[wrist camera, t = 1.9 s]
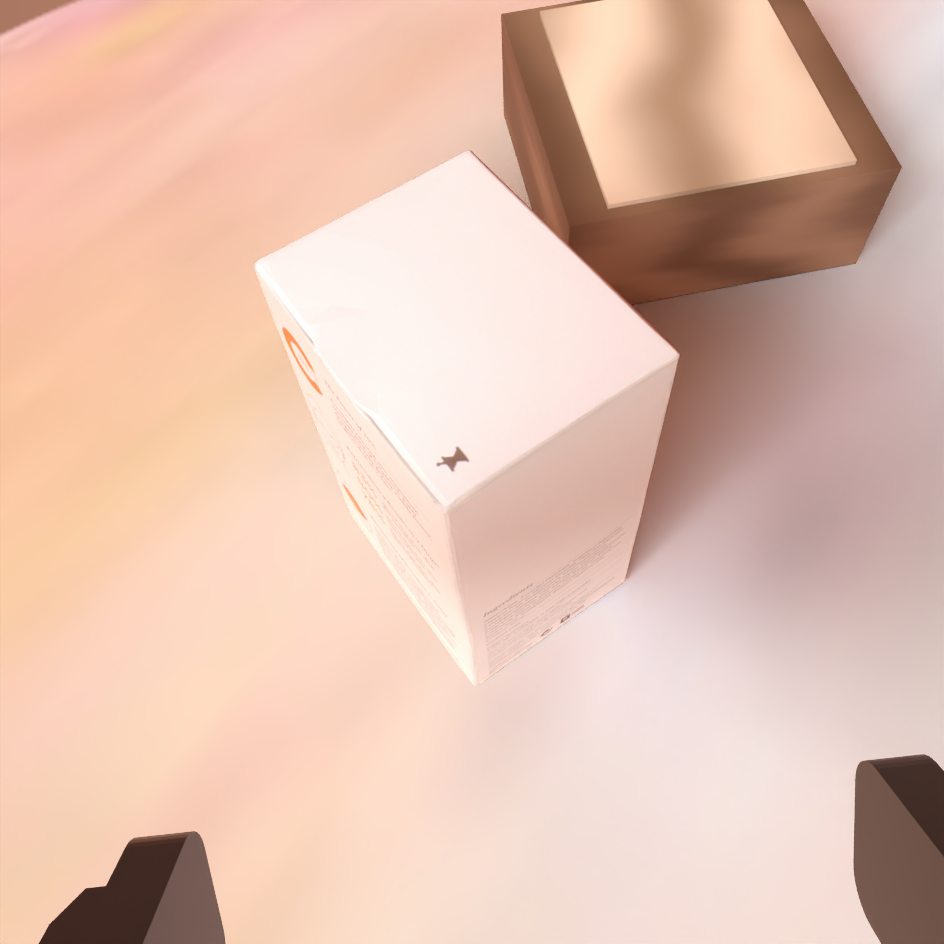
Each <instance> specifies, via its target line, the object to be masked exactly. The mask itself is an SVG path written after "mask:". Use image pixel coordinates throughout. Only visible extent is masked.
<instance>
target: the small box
mask: <svg viewBox="0 0 944 944" xmlns="http://www.w3.org/2000/svg"><path fill="white" fill-rule="evenodd" d="M254 269H255V272H256V274H257V277H258V280H259V282H260V285H261V288H262V290H263V293H264V295H265V298H266V301H267V303H268V306H269V309H270V311H271V314H272V316H273V319H274V322H275V324H276V327H277V329H278V331H279V334H280V336H281V339H282V341H283V344H284V346H285V349H286V351H287V354H288V356H289V359H290V361H291V364H292V367H293V369H294V372H295V374H296V377H297V379H298V382H299V384H300V387H301V390H302V392H303V395H304V397H305V400H306V402H307V405H308V407H309V410H310V413H311V415H312V418H313V421H314V423H315V425H316V428H317V430H318V432H319V435H320V437H321V440H322V442H323V445H324V447H325V450H326V452H327V455H328V457H329V460H330V462H331V465H332V467H333V470H334V473H335V475H336V478H337V480H338V483H339V486H340V488H341V491H342V493H343V496H344V499H345V501H346V504H347V507H348V509H349V512H350V513H351V515H352V516H353V518H354V519H355V521H356V522H357V524H358V525H359V526H360V528H361V529H362V531H363V532H364V534H365V535H366V537H367V538H368V539H369V541H370V542H371V544H372V545H373V547H374V548H375V549H376V551H377V552H378V554H379V555H380V557H381V558H382V559H383V561H384V562H385V564H386V565H387V566H388V568H389V569H390V571H391V572H392V573H393V575H394V576H395V578H396V579H397V581H398V582H399V583H400V585H401V586H402V587H403V589H404V590H405V592H406V593H407V594H408V596H409V597H410V599H411V600H412V601H413V603H414V604H415V606H416V607H417V608H418V610H419V611H420V613H421V614H422V615H423V617H424V618H425V620H426V621H427V622H428V624H429V625H430V627H431V628H432V629H433V631H434V632H435V634H436V635H437V636H438V638H439V639H440V641H441V642H442V643H443V645H444V646H445V647H446V649H447V650H448V652H449V653H450V654H451V656H452V657H453V658H454V660H455V661H456V663H457V664H458V665H459V666H460V668H461V669H462V670H463V672H464V673H465V674H466V676H467V677H468V678H469V680H470V681H471V682H472V683H473V684H474V685H475V686H477V685H479V684H481V683H482V682H484V681H485V680H487V679H488V678H489V677H491V676H492V675H493V674H495V673H497V672H498V671H499V670H501V669H502V668H503V667H505V666H506V665H507V664H509V663H510V662H512V661H513V660H514V659H516V658H517V657H519V656H520V655H522V654H523V653H524V652H526V651H527V650H528V649H530V648H531V647H533V646H534V645H535V644H537V643H538V642H540V641H541V640H542V639H544V638H545V637H546V636H548V635H549V634H551V633H552V632H553V631H555V630H556V629H558V628H559V627H560V626H562V625H563V624H565V623H566V622H567V621H569V620H570V619H572V618H573V617H574V616H576V615H577V614H579V613H580V612H582V611H583V610H584V609H586V608H587V607H589V606H590V605H592V604H593V603H595V602H596V601H597V600H599V599H600V598H602V597H603V596H605V595H606V594H607V593H609V592H610V591H612V590H613V589H615V588H616V587H617V586H619V585H620V584H622V583H623V582H624V581H625V578H626V574H627V570H628V565H629V562H630V558H631V554H632V549H633V545H634V541H635V538H636V535H637V531H638V527H639V523H640V519H641V515H642V511H643V506H644V502H645V497H646V492H647V488H648V485H649V480H650V476H651V473H652V468H653V464H654V460H655V455H656V451H657V447H658V443H659V439H660V435H661V431H662V427H663V423H664V419H665V415H666V410H667V406H668V402H669V398H670V394H671V390H672V385H673V381H674V377H675V373H676V369H677V364H678V360H679V357H680V353H679V351H678V350H677V349H676V348H675V347H674V346H673V345H672V344H671V343H670V342H669V341H668V340H667V339H666V338H665V337H664V336H662V335H661V334H660V333H659V332H658V331H657V330H656V329H655V328H654V327H653V326H652V325H651V324H650V323H649V322H648V321H647V320H646V319H645V318H644V317H643V316H642V315H641V314H640V313H638V312H637V311H636V310H635V309H634V308H633V307H632V306H631V305H630V304H629V303H628V302H627V301H626V300H625V299H624V298H623V297H622V296H621V295H620V294H619V293H618V292H617V291H616V290H615V289H614V288H613V287H612V286H611V285H610V284H609V283H608V282H606V281H605V280H604V279H603V278H602V277H601V276H600V275H599V274H598V273H597V272H596V271H595V270H594V269H593V268H592V267H591V266H590V265H589V264H588V263H586V262H585V261H584V260H583V259H582V258H581V257H580V256H579V255H578V254H577V253H576V252H575V251H574V250H573V249H572V248H571V247H570V246H569V245H568V244H567V243H566V242H565V241H564V240H563V239H562V238H561V237H560V236H559V235H558V234H556V233H555V232H554V231H553V230H552V229H551V228H550V227H549V226H548V225H547V224H546V223H545V222H544V221H543V220H542V219H541V218H540V217H539V216H538V215H537V214H536V213H535V212H534V211H533V210H531V209H530V208H529V207H528V206H527V205H526V204H525V203H524V202H523V201H522V200H521V199H520V198H519V197H518V196H517V195H516V194H515V193H514V192H513V191H512V190H511V189H510V188H509V187H508V186H507V185H505V184H504V183H503V182H502V181H501V180H500V179H499V178H498V177H497V176H496V175H495V174H494V173H493V172H492V171H491V170H490V169H489V168H488V167H487V166H486V165H485V164H484V163H483V162H482V161H481V160H480V159H479V158H478V157H477V156H476V155H475V154H474V153H473V152H472V151H464V152H462V153H460V154H458V155H457V156H455V157H453V158H451V159H449V160H447V161H445V162H443V163H441V164H440V165H438V166H436V167H434V168H432V169H430V170H428V171H426V172H425V173H423V174H421V175H419V176H417V177H415V178H414V179H412V180H410V181H408V182H406V183H404V184H402V185H400V186H398V187H396V188H395V189H393V190H391V191H389V192H387V193H385V194H383V195H381V196H379V197H377V198H375V199H374V200H372V201H370V202H368V203H366V204H364V205H362V206H360V207H359V208H357V209H355V210H353V211H351V212H349V213H347V214H345V215H344V216H342V217H340V218H338V219H336V220H334V221H332V222H330V223H328V224H327V225H325V226H323V227H321V228H319V229H317V230H315V231H313V232H311V233H309V234H307V235H306V236H304V237H302V238H300V239H298V240H296V241H294V242H292V243H290V244H288V245H287V246H285V247H283V248H281V249H279V250H277V251H275V252H273V253H271V254H269V255H267V256H265V257H263V258H261V259H258V260H257V261H256V262H255V268H254Z"/></svg>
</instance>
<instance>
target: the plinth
mask: <svg viewBox="0 0 944 944" xmlns="http://www.w3.org/2000/svg"><path fill="white" fill-rule="evenodd" d="M501 22H502V59H503V95H504V116H505V119H506V123H507V126H508V130H509V133H510V136H511V140H512V143H513V146H514V150H515V153H516V156H517V160H518V163H519V167H520V170H521V173H522V177H523V180H524V183H525V187H526V190H527V193H528V197H529V200H530V204H531V207H532V210H533V211H534V212H535V213H536V214H537V215H538V216H539V217H540V218H541V219H542V220H543V221H544V222H545V223H546V224H547V225H548V226H549V227H550V228H551V229H552V230H553V231H554V232H555V233H556V234H558V235H559V236H560V237H561V238H562V239H563V240H564V241H565V242H566V243H567V244H568V245H569V246H570V247H571V248H572V249H573V250H574V251H575V252H576V253H577V254H578V255H579V256H580V257H581V258H582V259H583V260H584V261H585V262H586V263H588V264H589V265H590V266H591V267H592V268H593V269H594V270H595V271H596V272H597V273H598V274H599V275H600V276H601V277H602V278H603V279H604V280H605V281H606V282H608V283H609V284H610V285H611V286H612V287H613V288H614V289H615V290H616V291H617V292H618V293H619V294H620V295H621V296H622V297H623V298H624V299H625V300H626V301H627V302H628V303H629V304H630V305H632V304H637V303H643V302H648V301H653V300H659V299H664V298H670V297H675V296H681V295H686V294H692V293H697V292H702V291H708V290H713V289H719V288H724V287H730V286H735V285H741V284H746V283H752V282H757V281H762V280H768V279H773V278H779V277H784V276H790V275H795V274H801V273H806V272H812V271H817V270H822V269H828V268H833V267H839V266H844V265H850V264H855V263H856V261H857V259H858V257H859V255H860V253H861V251H862V249H863V247H864V245H865V243H866V241H867V238H868V236H869V234H870V232H871V230H872V228H873V226H874V224H875V222H876V220H877V218H878V216H879V213H880V211H881V209H882V207H883V205H884V203H885V201H886V199H887V197H888V195H889V193H890V191H891V189H892V186H893V184H894V182H895V180H896V178H897V176H898V174H899V172H900V170H901V168H902V167H901V165H900V163H899V162H898V160H897V158H896V157H895V155H894V153H893V152H892V150H891V148H890V146H889V145H888V143H887V141H886V140H885V138H884V136H883V135H882V133H881V131H880V130H879V128H878V126H877V124H876V123H875V121H874V119H873V118H872V116H871V114H870V113H869V111H868V109H867V107H866V106H865V104H864V102H863V101H862V99H861V97H860V96H859V94H858V92H857V91H856V89H855V87H854V85H853V84H852V82H851V80H850V79H849V77H848V75H847V74H846V72H845V70H844V69H843V67H842V65H841V63H840V62H839V60H838V58H837V57H836V55H835V53H834V52H833V50H832V48H831V47H830V45H829V43H828V41H827V40H826V38H825V36H824V35H823V33H822V31H821V30H820V28H819V26H818V24H817V23H816V21H815V19H814V18H813V16H812V14H811V13H810V11H809V9H808V8H807V6H806V4H805V2H804V1H803V0H582V1H576V2H570V3H564V4H558V5H552V6H546V7H540V8H534V9H529V10H523V11H517V12H511V13H505V14H501Z"/></svg>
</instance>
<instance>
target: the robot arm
mask: <svg viewBox="0 0 944 944" xmlns="http://www.w3.org/2000/svg"><path fill="white" fill-rule="evenodd" d="M854 876H855V882H856V887H857V891H858V895H859V899H860V902H861V905H862V907H863V910H864V913H865V915H866V917H867V919H868V921H869V923H870V925H871V927H872V928H873V930H874V932H875V934H876V935H877V937H878V939H879V940H880V942H881V944H944V771H943V770H942V769H941V767H940V766H939V765H938V764H937V763H936V762H935V761H934V760H933V759H932V758H930V757H929V756H927V755H913V756H904V757H895V758H885V759H876V760H867V761H862V762H860V764H859V765H858V767H857V771H856V779H855V823H854ZM39 944H225V936H224V930H223V926H222V921H221V917H220V913H219V908H218V904H217V899H216V895H215V891H214V886H213V882H212V878H211V873H210V869H209V865H208V860H207V856H206V852H205V847H204V844H203V841H202V838H201V837H200V835H199V834H198V833H197V832H195V831H193V832H184V833H175V834H166V835H156V836H147V837H138V838H133V839H132V840H131V841H130V842H129V843H128V844H127V846H126V848H125V849H124V851H123V853H122V855H121V857H120V859H119V861H118V863H117V865H116V867H115V869H114V871H113V873H112V875H111V877H110V879H109V881H108V883H107V885H106V886H104V887H95V888H86V889H85V890H84V891H83V892H82V893H81V894H80V895H79V896H78V897H77V898H76V899H75V900H74V901H73V902H72V903H71V904H70V905H69V906H68V907H67V908H66V909H65V910H64V911H63V912H62V913H61V914H60V915H59V916H58V917H57V918H56V919H55V920H54V921H52V922H51V923H50V924H49V926H48V928H47V930H46V932H45V933H44V935H43V937H42V939H41V941H40V943H39Z"/></svg>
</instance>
